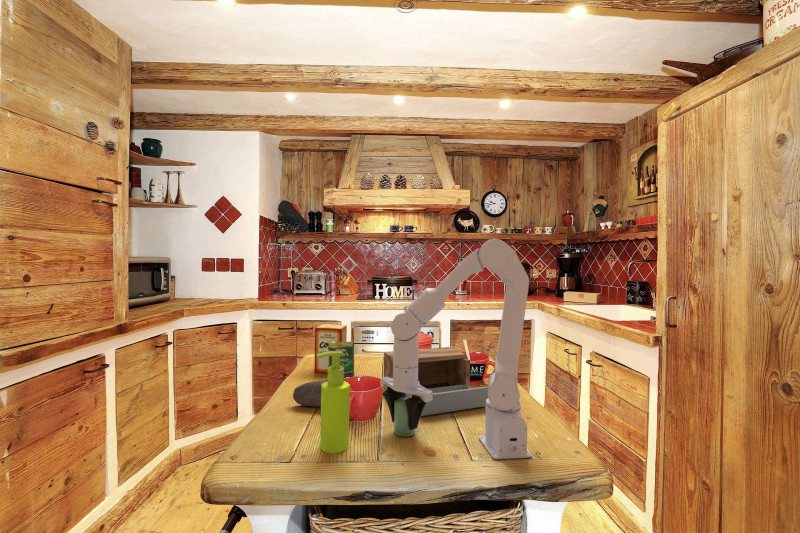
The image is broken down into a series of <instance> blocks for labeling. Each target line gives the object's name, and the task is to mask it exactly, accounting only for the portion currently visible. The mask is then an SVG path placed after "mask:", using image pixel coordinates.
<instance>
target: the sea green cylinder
mask: <svg viewBox="0 0 800 533" xmlns="http://www.w3.org/2000/svg"><path fill="white" fill-rule="evenodd" d="M406 399H408V398H405V397H403V398H398V399H396V400H395V403H394V422H393V433H394V434H395V435H396V436H398V437H404V438H407V437H411V436H414V435H415V433H416V429H414V430H410V429H409V424H408V410H407V406H406V403H405V400H406Z"/></svg>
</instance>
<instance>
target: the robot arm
mask: <svg viewBox="0 0 800 533" xmlns="http://www.w3.org/2000/svg"><path fill="white" fill-rule="evenodd" d="M484 267H485V268H486V269H488V270H490V272H493V273H494V274H496V275H497V277H498V278H499V279H500V280H501V282H502V283H503V284H504V285H505V292H504V300H503V307H502V315H501V322H500V331H499V337H498V343H497V344H498V345H497V352H496V358H495V363H494V368H493V371H491V373H490V375H489V377H488V387H489V389H488V398H487V399H486V406H485V422H484V424H485V425H484V426H485V428H484V429H485V430H484V435H478V440H479V441H480V442H481V443H482V445H483V446H484V449H486V451H487V452H488V453H489V455H490V456H491V458H492V459H494V460H504V459H505V460H507V459H527V458H531V457H532V454H531V453H530V452H529V451H528V425H527V423H526V421H525V419H524V417H523V416H522V409H521V408H522V407H521V406H522V404H521V402H520V399H521V395H520V394H521V393H520V390H519V380H518V374H519V372H518V371H519V361H520V360H519V359H520V352H521V346H522V340H523V339H522V338H523V330H524V324H525V315H526V310H527V309H526V308H527V300H528V295H529V294H528V293H529V289H530V288H529V287H530V286H529V285H530V277H529V276H528V274H527V272H526V270H525V268H524V267H523V264H522V262H521V261H520V259H519V257H518V255H517V252H516V251H515V250H514V249H513V248H512V247H511V246H509V244H508V243H507V242H505V241H503V240H502V239H499V238H492V239H488V240H486V241H485V242H484V243H483V244H482V245H481V246H480V248H476V249H475V250H474V251H472V252H471V253H470V254H468V255H467V256H466V257H465V258H463V260H461V261H460V262H459V263H458V264H457V265H456V267H455V268H454V269H453V270H452V271H450V273H449V274H447V275H446V276H445V278H443V280H441V282H440V283H439V284H437V286H436V287H433V288H432V287H426V288H425V289H424V290H423V289H420V290H419V291H418V292H417V294H416V295H417V297H416V298H415V299H414V300H412V301H411V303H410V304H407V305H405V306H403V308H402V310H403V312H401V313H398V314H397V315H395V316H394V318H393V320H392V321H391V325H390V330H391V332H392V335H393V350H392V351H393V378H389V377H384V376H383V377H381V378H380V387H381V388H383V387H387V391H385V390H384V391H383V392H382V395H383V397H384V399H385V402H386V403H387V406H388V410H389V412H390V413H389V414H390V417H391V418H390V419H391V421H392V423H394V403H395V400H396V399H398V398H404V397H405V394H408V395H411V396H412V398H408V399H406V400H405V403H406V406H407V410H408V424H409V429H410V430H414V429H415V430H416V429H417V428H418V427H419V424H420V420H421V417H422V416H421V413H422V411H423V409H424V407H425V405H426V403H427V402H429V401H432V400H433V392H432V391H430V390H428V389H429V388H426V387H425V386H424V385H419V384H420V382H419V381H418V350H419V349H420V348H419V347H420V346H419V333H420V332H421V330H422V327H424V326H426V325H427V324H428V323H429V322H430V321H431V320H432V319H433V318H434V317H436V316H437V315H438V314H439V313H440V312H441V311H442V310H443V309H445V305H446V304H445V302H446V298H447V297H448V296H449V295H451V293H453V291H454V290H456V289H457V288H458V287H459V286H460V285H461V284H462V283H464V282H465V281H466V280H467V279H468V278H469V277H471V276H472V275H474V274H477V273H480V272H484V271H485V268H484Z"/></svg>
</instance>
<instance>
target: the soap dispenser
mask: <svg viewBox="0 0 800 533" xmlns="http://www.w3.org/2000/svg"><path fill="white" fill-rule="evenodd" d="M316 355H317V356H318V357H319V358H322V357H327V356H332V366H330V367H328V373H327V380H328V382H325V383H323V384H322V385H321V407H320V450H321V451H322V452H324V453H326V454H340V453H342V452H345V451H347V450H348V449H349V446H350V401H351V400H350V394H351V387H350V386H351V384H349V383H348V382H346V381H344V367H342V366H341V365H340V356H344V353H343V352H342V351H326V352H322V353H319V354H316Z"/></svg>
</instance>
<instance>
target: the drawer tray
mask: <svg viewBox="0 0 800 533" xmlns="http://www.w3.org/2000/svg"><path fill="white" fill-rule="evenodd" d="M427 389H428V390H430V391H432V392H433V400H432V401H429V402H427V403H426V405H425V407H424V409H423V411H422V413H421V416H420V417H424V416H431V415H436V414H443V413H451V412H456V411H462V410H470V409H475V408H477V409H478V408H482V407H486V399H487V398H488V389H489V385H488V386H487V385H486V386H482V387H481V386H479V387H473V388H472V387H470V385H469V386H467V385H465V384H464V385H456V386H452V385H449V386H440V387H434V388H431V387H430V388H427ZM404 398H412V396H411V395H408V394H405V393H404Z"/></svg>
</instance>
